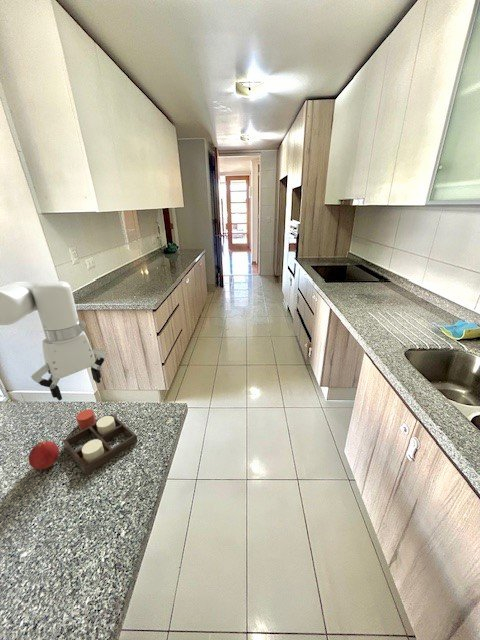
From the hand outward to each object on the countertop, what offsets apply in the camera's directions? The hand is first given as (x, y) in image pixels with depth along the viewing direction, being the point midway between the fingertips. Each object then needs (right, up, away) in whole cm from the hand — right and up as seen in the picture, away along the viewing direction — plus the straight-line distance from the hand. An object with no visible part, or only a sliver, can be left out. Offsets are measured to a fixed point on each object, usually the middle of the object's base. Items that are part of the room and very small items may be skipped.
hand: (78, 389), depth 70 cm
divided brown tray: (+7, -15, -1) cm, 17 cm away
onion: (-3, -17, -7) cm, 19 cm away
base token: (+8, -16, -6) cm, 18 cm away
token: (+7, -13, +3) cm, 15 cm away
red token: (-1, -12, +6) cm, 14 cm away
